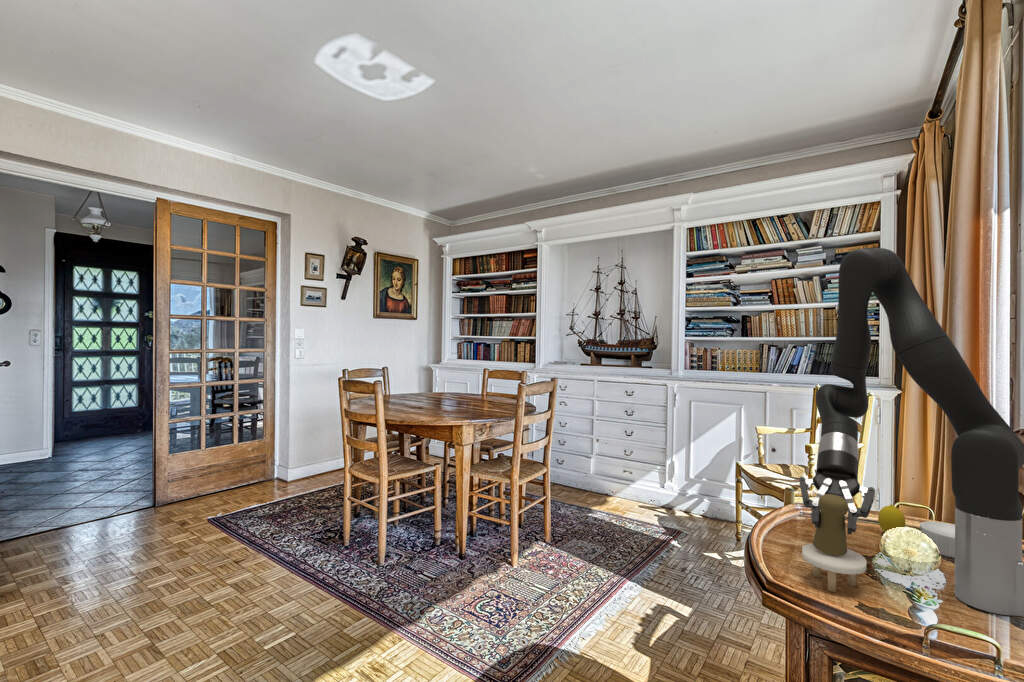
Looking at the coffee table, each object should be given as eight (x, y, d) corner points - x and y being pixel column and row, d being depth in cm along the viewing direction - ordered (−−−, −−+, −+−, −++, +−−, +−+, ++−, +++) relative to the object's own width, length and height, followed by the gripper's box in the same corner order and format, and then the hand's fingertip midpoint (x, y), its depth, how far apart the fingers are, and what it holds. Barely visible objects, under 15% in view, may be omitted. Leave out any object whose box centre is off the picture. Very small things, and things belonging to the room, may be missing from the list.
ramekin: (986, 566, 110) (986, 543, 110) (920, 553, 116) (920, 531, 116) (978, 550, 119) (978, 528, 119) (918, 538, 125) (918, 517, 125)
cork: (852, 556, 99) (857, 505, 97) (819, 553, 100) (822, 503, 99) (840, 540, 105) (844, 491, 103) (808, 537, 106) (812, 489, 104)
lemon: (903, 534, 127) (903, 503, 127) (906, 542, 123) (907, 509, 123) (877, 530, 130) (877, 499, 130) (879, 537, 126) (879, 505, 126)
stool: (866, 581, 102) (867, 552, 102) (865, 603, 94) (865, 571, 94) (805, 566, 109) (805, 539, 109) (798, 585, 100) (798, 556, 100)
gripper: (798, 444, 112) (790, 512, 102) (878, 453, 103) (877, 528, 93) (801, 462, 116) (794, 530, 106) (877, 473, 107) (877, 547, 98)
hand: (833, 528), depth 100 cm, fingers open, 5 cm apart
